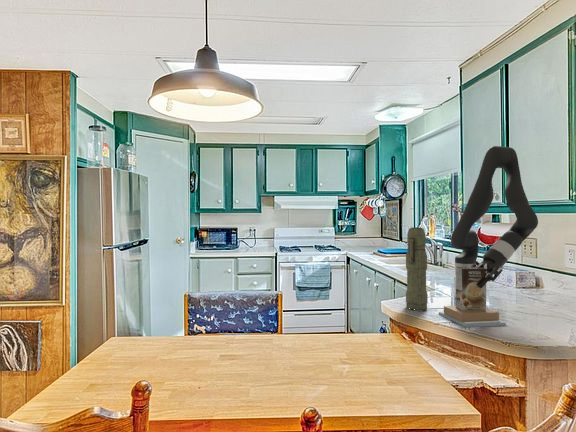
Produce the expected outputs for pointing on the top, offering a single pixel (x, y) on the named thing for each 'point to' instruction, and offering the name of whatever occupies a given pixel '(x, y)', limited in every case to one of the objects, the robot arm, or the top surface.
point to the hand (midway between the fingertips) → (471, 284)
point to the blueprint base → (472, 317)
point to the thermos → (416, 269)
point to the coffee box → (470, 289)
